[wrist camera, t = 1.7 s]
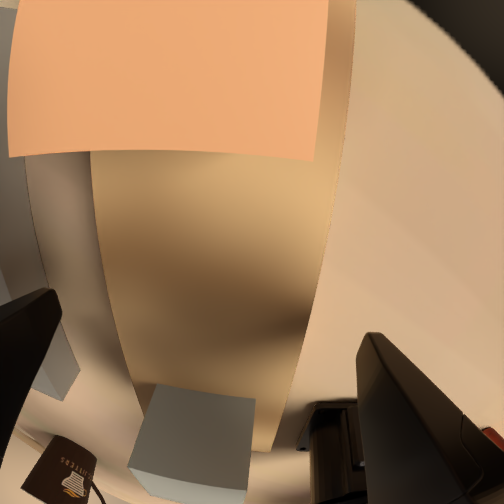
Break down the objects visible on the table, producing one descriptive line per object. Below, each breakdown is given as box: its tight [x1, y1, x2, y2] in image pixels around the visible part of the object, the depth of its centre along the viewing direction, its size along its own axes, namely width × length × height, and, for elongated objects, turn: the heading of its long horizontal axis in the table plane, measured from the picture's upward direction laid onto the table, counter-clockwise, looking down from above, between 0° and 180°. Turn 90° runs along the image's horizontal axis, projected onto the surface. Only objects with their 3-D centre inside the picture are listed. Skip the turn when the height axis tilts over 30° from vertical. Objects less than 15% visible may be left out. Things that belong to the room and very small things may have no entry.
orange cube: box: [7, 0, 329, 162], centre depth 4 cm, size 4×4×4 cm
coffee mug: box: [21, 435, 106, 504], centre depth 23 cm, size 12×9×10 cm
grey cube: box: [127, 383, 256, 504], centre depth 10 cm, size 4×4×4 cm
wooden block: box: [90, 0, 356, 452], centre depth 10 cm, size 20×6×4 cm, turn 176°
